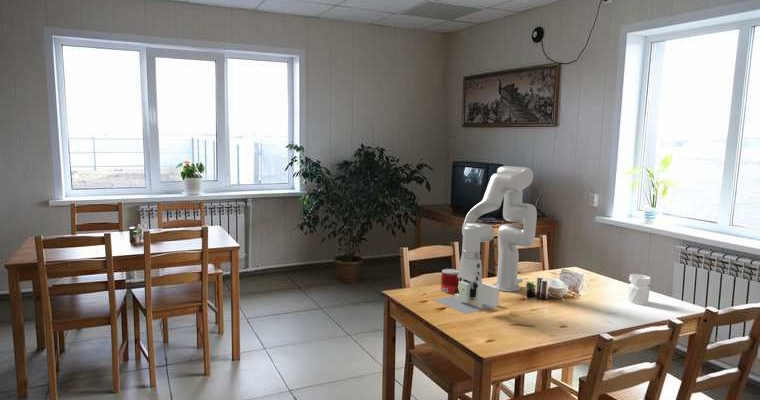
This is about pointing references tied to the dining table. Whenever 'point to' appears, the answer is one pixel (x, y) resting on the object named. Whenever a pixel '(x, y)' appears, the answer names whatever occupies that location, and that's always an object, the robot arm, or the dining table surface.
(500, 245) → the robot arm
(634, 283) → the white lidded jar
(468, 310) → the cleat board
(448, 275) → the canned food
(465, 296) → the cabinet block
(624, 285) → the dining table surface
